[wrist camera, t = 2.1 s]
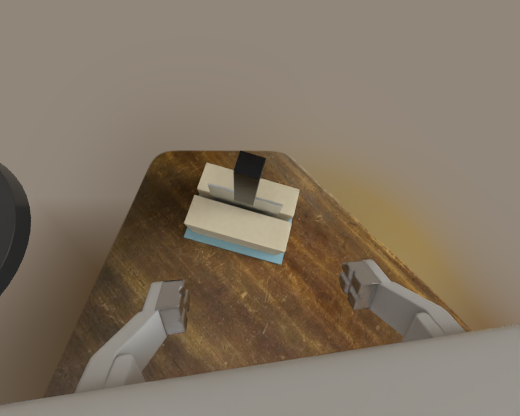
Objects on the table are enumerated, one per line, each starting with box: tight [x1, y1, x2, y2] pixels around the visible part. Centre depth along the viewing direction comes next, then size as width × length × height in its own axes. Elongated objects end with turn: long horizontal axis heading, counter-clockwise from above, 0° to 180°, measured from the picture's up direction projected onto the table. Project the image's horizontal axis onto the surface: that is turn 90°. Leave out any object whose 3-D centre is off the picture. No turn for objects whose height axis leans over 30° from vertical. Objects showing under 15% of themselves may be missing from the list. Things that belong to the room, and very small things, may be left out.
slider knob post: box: [208, 151, 283, 218], centre depth 23 cm, size 8×2×13 cm, turn 75°
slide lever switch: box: [184, 163, 299, 265], centre depth 31 cm, size 14×10×7 cm
